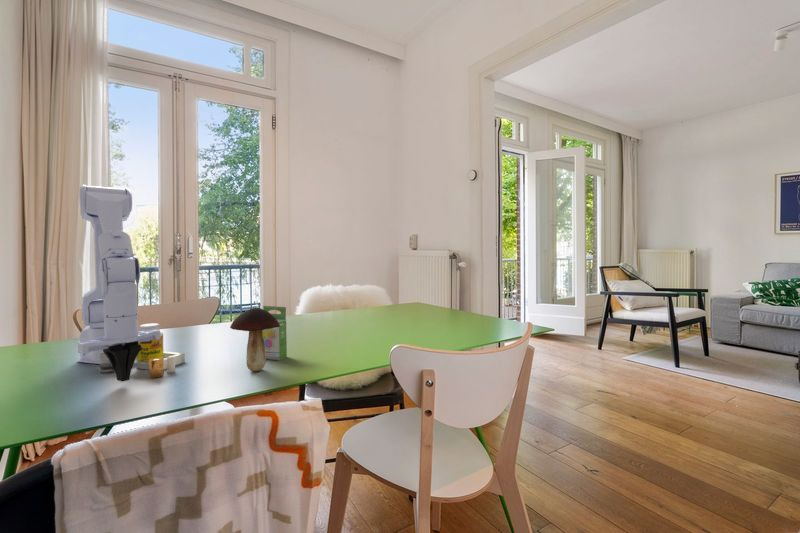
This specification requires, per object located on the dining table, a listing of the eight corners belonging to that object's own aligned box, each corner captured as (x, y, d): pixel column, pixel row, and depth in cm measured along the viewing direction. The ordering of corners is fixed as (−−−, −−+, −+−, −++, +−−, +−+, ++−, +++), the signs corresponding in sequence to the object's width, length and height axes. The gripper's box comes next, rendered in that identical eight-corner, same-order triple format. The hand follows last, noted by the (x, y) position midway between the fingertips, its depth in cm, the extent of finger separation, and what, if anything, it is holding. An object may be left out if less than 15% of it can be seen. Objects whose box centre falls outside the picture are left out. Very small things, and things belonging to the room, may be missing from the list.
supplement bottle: (136, 371, 93) (135, 328, 92) (136, 365, 97) (135, 324, 97) (164, 367, 96) (163, 325, 95) (163, 361, 100) (162, 321, 100)
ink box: (255, 358, 104) (254, 307, 103) (264, 354, 107) (263, 305, 107) (278, 360, 102) (278, 309, 101) (287, 356, 106) (286, 306, 105)
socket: (120, 368, 95) (120, 359, 94) (151, 358, 103) (151, 350, 103) (155, 372, 92) (155, 363, 92) (184, 361, 100) (184, 353, 100)
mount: (94, 372, 91) (94, 369, 91) (111, 367, 95) (111, 364, 95) (108, 374, 90) (108, 370, 90) (124, 369, 94) (124, 365, 94)
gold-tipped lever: (96, 371, 92) (95, 353, 91) (111, 366, 95) (110, 349, 95) (154, 378, 87) (154, 359, 86) (168, 373, 90) (167, 355, 90)
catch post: (165, 372, 92) (165, 357, 92) (171, 370, 93) (170, 355, 93) (171, 373, 92) (170, 358, 91) (176, 370, 93) (176, 356, 93)
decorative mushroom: (268, 361, 101) (267, 303, 100) (288, 371, 93) (288, 308, 92) (223, 370, 94) (222, 307, 93) (241, 382, 85) (240, 313, 85)
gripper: (89, 322, 74) (92, 394, 74) (167, 311, 86) (169, 373, 87) (71, 319, 77) (74, 388, 78) (149, 309, 90) (151, 368, 90)
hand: (123, 379), depth 83 cm, fingers closed
